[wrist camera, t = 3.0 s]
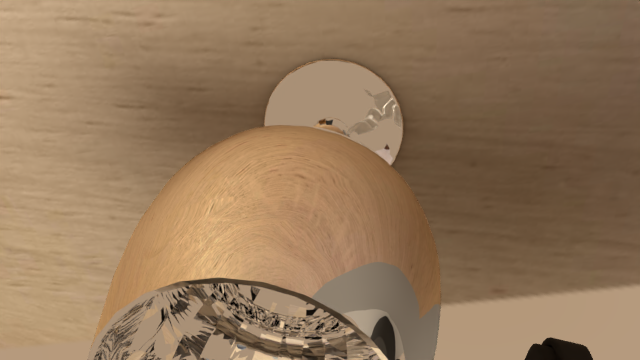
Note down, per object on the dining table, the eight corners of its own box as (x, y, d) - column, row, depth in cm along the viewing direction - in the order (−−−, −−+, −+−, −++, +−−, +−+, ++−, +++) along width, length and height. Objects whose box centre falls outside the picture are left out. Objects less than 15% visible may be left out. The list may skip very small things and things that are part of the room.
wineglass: (360, 238, 21) (314, 602, 10) (214, 151, 20) (-5, 441, 9) (462, 102, 18) (546, 388, 8) (300, -1, 18) (141, 151, 7)
